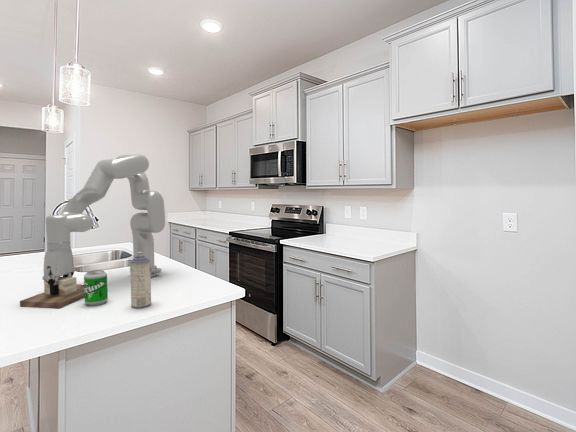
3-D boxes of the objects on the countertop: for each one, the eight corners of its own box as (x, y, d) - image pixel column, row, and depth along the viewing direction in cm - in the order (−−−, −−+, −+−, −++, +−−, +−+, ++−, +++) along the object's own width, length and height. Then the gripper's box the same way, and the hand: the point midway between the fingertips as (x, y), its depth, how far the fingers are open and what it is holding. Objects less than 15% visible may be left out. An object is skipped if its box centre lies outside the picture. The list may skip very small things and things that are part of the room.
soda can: (91, 300, 127) (90, 269, 126) (111, 299, 128) (110, 269, 127) (80, 306, 120) (79, 274, 119) (102, 306, 120) (101, 274, 119)
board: (101, 290, 140) (101, 285, 139) (59, 308, 118) (59, 303, 118) (67, 288, 141) (66, 284, 141) (20, 306, 120) (19, 301, 119)
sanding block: (76, 291, 130) (76, 277, 130) (66, 296, 125) (65, 281, 125) (56, 291, 131) (55, 276, 131) (44, 295, 126) (43, 280, 125)
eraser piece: (81, 287, 136) (80, 284, 136) (73, 290, 132) (73, 287, 132) (72, 287, 136) (72, 283, 136) (64, 290, 132) (64, 286, 132)
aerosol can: (154, 304, 122) (153, 252, 121) (137, 309, 117) (135, 254, 115) (145, 300, 126) (143, 249, 125) (127, 305, 121) (125, 252, 119)
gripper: (67, 242, 136) (69, 285, 137) (30, 250, 119) (33, 298, 120) (84, 243, 135) (85, 286, 136) (49, 250, 118) (51, 299, 119)
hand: (60, 291), depth 128 cm, fingers closed on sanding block, 5 cm apart
